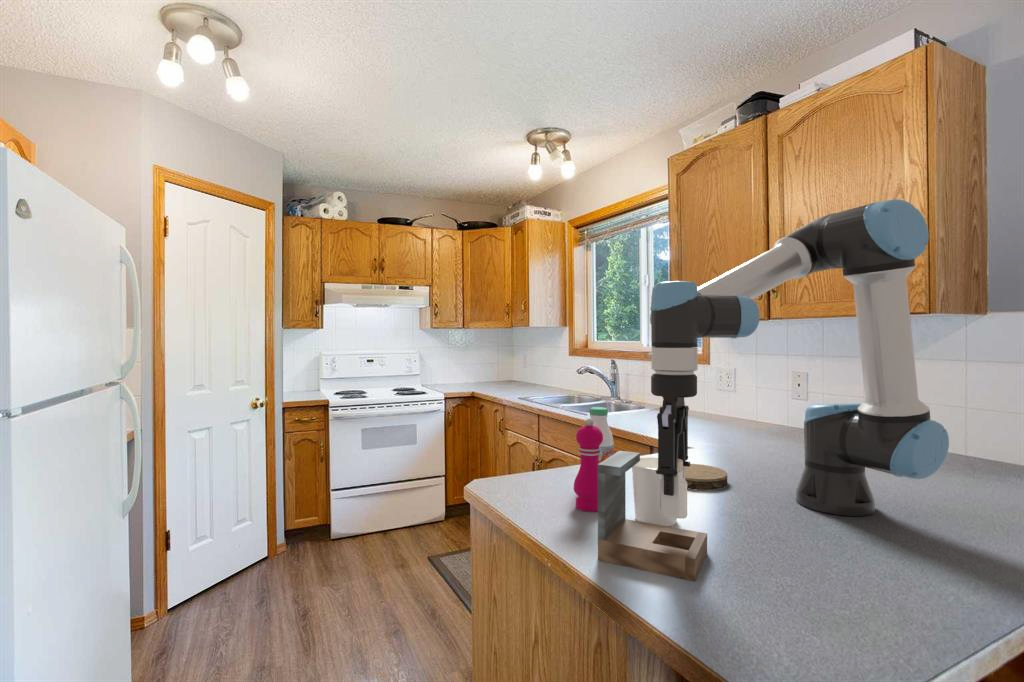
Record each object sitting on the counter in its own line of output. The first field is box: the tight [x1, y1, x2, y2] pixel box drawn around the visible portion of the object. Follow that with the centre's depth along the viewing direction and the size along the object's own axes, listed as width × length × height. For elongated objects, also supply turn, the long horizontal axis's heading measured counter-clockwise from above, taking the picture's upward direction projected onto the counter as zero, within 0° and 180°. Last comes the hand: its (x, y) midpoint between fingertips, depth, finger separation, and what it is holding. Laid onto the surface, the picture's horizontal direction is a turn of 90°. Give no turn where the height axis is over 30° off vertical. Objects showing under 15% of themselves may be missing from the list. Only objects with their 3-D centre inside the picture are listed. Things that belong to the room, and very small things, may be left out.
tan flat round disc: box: [683, 463, 728, 491], centre depth 136 cm, size 16×16×3 cm
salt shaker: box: [660, 459, 688, 519], centre depth 88 cm, size 4×4×10 cm
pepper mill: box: [573, 418, 603, 513], centre depth 115 cm, size 7×7×20 cm
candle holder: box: [631, 457, 678, 527], centre depth 107 cm, size 10×10×12 cm
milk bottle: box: [589, 406, 615, 463], centre depth 132 cm, size 8×8×20 cm
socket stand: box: [597, 450, 708, 582], centre depth 90 cm, size 16×12×16 cm
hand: (673, 508), depth 88 cm, fingers closed on salt shaker, 5 cm apart
